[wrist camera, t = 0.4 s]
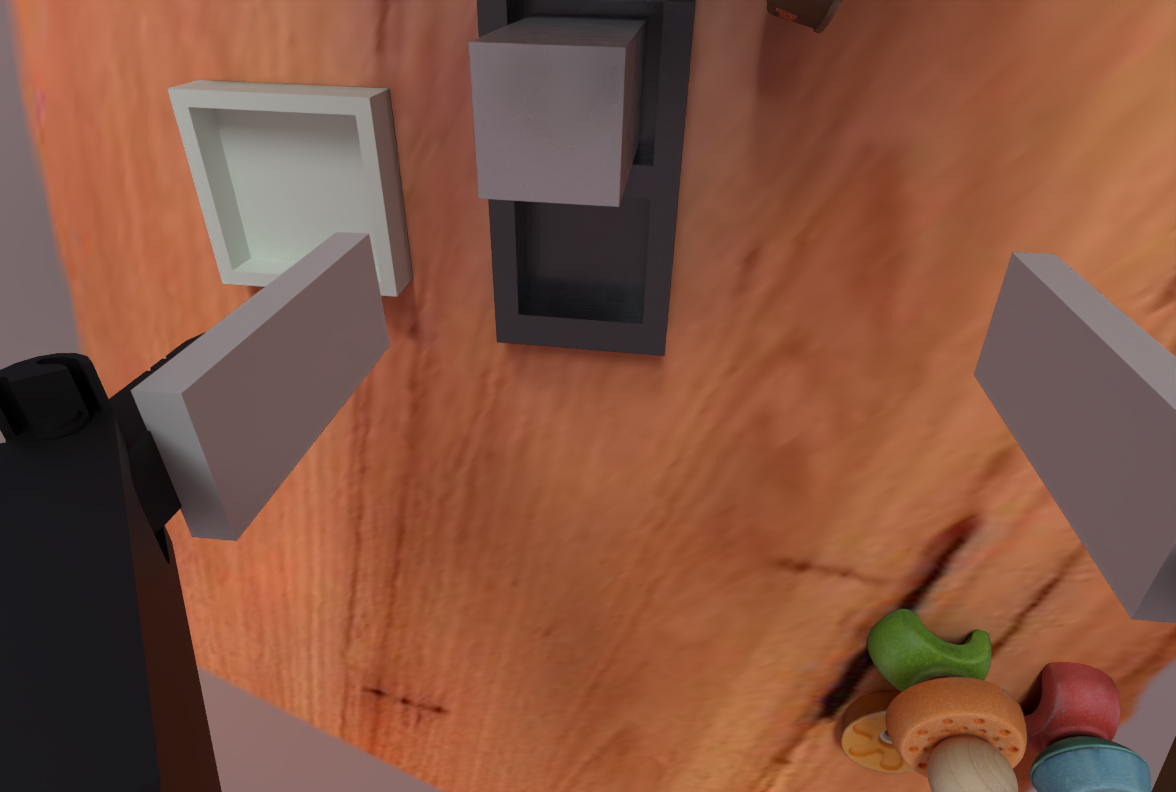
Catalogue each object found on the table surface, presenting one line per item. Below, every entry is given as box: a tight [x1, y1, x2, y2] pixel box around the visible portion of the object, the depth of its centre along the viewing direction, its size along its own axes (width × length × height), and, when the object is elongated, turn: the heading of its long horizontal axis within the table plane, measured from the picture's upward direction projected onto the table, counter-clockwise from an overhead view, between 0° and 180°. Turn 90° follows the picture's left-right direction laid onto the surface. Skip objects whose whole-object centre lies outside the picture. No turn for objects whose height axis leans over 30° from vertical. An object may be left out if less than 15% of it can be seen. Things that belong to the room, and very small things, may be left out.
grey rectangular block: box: [468, 13, 648, 207], centre depth 28 cm, size 5×5×11 cm
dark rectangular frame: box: [477, 0, 696, 356], centre depth 34 cm, size 18×9×3 cm, turn 179°
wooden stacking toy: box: [841, 609, 1151, 792], centre depth 47 cm, size 18×17×12 cm
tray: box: [168, 80, 413, 297], centre depth 37 cm, size 10×10×2 cm
